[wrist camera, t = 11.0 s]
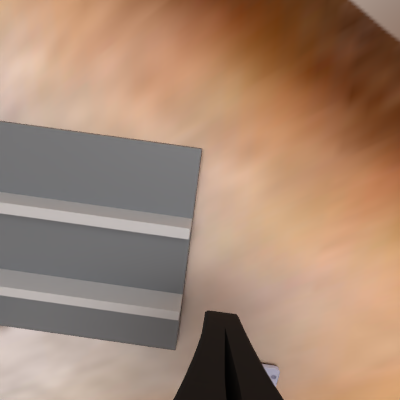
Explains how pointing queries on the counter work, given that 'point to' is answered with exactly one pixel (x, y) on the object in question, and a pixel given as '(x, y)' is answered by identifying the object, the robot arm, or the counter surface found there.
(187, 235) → the channel board
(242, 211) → the counter surface
